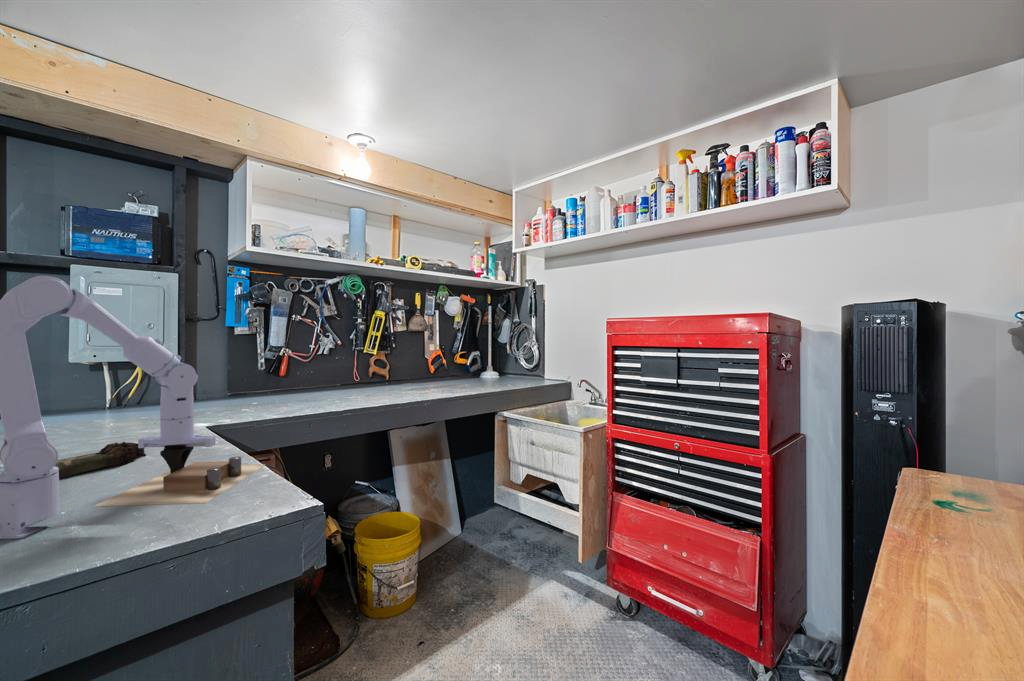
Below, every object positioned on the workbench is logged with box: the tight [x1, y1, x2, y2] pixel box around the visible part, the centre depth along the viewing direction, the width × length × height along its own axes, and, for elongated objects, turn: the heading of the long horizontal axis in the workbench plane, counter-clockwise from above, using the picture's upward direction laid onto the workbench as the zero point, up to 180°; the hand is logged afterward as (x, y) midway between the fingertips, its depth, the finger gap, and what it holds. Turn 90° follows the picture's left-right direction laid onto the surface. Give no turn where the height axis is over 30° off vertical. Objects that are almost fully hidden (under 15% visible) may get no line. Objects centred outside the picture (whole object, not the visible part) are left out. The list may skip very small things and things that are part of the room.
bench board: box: [92, 456, 266, 508], centre depth 93 cm, size 24×20×6 cm
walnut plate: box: [163, 460, 229, 491], centre depth 93 cm, size 10×8×3 cm
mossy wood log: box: [55, 441, 147, 480], centre depth 107 cm, size 18×7×6 cm, turn 152°
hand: (177, 479), depth 93 cm, fingers closed, pressing on walnut plate
